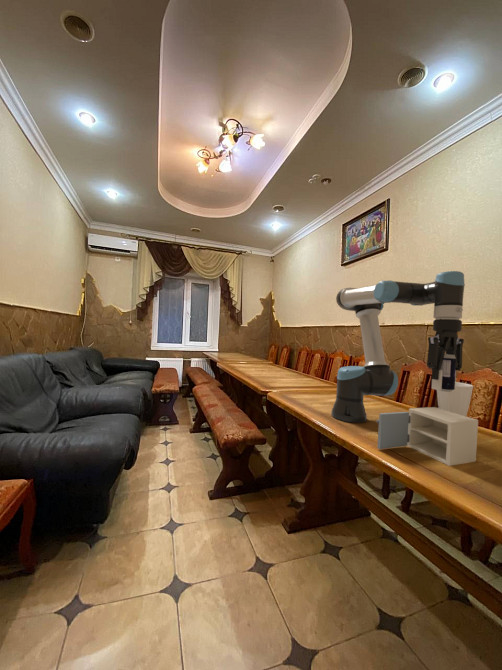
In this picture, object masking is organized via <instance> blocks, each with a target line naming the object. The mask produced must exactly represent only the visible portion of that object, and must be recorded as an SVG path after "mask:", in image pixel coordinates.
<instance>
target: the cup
mask: <svg viewBox="0 0 502 670" xmlns="http://www.w3.org/2000/svg"><path fill="white" fill-rule="evenodd" d="M473 389H474V385H472V384H471V383H465V382H459V381H456V383H455V390H452V391H451V392H445V391H439V390H436V398H437V406H438V407H437V408H438V409H442V410H445V411H449V412H452V413H456V414H459V415H462V416H466V417H468V416H467V415H468V411H469V409H470V408H469V407H470V404H471V400H472V394H473V391H474V390H473Z"/></svg>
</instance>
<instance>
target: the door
mask: <svg viewBox="0 0 502 670" xmlns="http://www.w3.org/2000/svg"><path fill="white" fill-rule="evenodd" d="M378 415H379V417H378V419H376V420H375V422H376V423H377V424H378V430H377V432H378V433H377V434H378V435H377V447H376V448H377V449H378V450H384V449H392V448H401V447H408V446H407V442H409V436H410V435H409V434H408V423H410V419H411V416H409V411H399V412H398V411H396V412H384V413H382V412H381V413H379V414H378Z"/></svg>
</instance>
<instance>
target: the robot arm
mask: <svg viewBox="0 0 502 670" xmlns="http://www.w3.org/2000/svg"><path fill="white" fill-rule="evenodd" d="M464 291H465V274H464V273H463V272H462V271H460V270H459V271H458V270H453V271H452V270H451V271H443V272H439V273H438V274H436V276H435V279H434V281H432V282H428V283H419V282H405V281H394V280H380V281H379V282H377V283H376V284H373V285H367V286H363V287H346V288H342V289H340V290H339V291H338V293H337V294H336V299H335V300H336V304H337V305H338V306H339V307H340V308H341V309H343V310H345V311H349V312H351V311H352V312H355V317H356V318H357V319H359V325H360V333H361V339H362V346H363V354H364V361H365V364H364V366H359V365H349V366H347V365H346V366H342V367H340V368H339V369H338V370H337V376H336V394H335V395H336V396H335V398H336V399H335V401H334V403H333V406H332V408H331V416H332V417H333V418H334V419H337V420H339V421H343V422H347V423H352V424H353V423H355V424H356V423H359V424H360V423H365V422H366V421H367V412H366V408H365V404H364V396H380V397H384V396H392V395H393V394H395V392H396V390H397V389H398V386H399V378H398V375H397V373H396V372H395V371H393V370H391V365H390V364H389V363H388V362H386V358H385V352H384V345H383V339H382V334H381V328H380V326H381V325H380V321H379V315H380V314H381V312H382V310H383V309H384V305H385V304H388V303H396V304H410V305H411V306H421V307H422V306H425V305H432V304H434V305H433V306H434V307H433V319H434V320H433V323H432V330H433V331H434V332H435V334H434V336H428V338H427V341H428V351H427V359H426V361H427V363H426V367H428V369H430V370H431V389H432V390H435V391H437V390H440V391H441V390H442V373H443V370H440V369H441V366H442V362H443V358H444V355H445V354H448V355H455V357H456V371H461V369H462V368H463V346H464V345H463V344H464V341H465V340H464V338H459V336H458V332H461V331H462V328H463V327H462V326H463V321H462V320H461V319H462V318H463V311H464V309H463V306H464V293H465V292H464ZM456 380H457V372H456V373H455V383H456V382H457V381H456ZM454 390H455V389H454Z"/></svg>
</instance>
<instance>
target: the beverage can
mask: <svg viewBox="0 0 502 670" xmlns="http://www.w3.org/2000/svg"><path fill="white" fill-rule="evenodd" d="M440 370H443V373H442V390H441V391H445V392H451V391H452V390H454V389H455V373H456V374H457V370H456V357H455V355H448V354H446V353H445V355H444V358H443V362H442V366H441V369H440ZM439 391H440V390H439Z"/></svg>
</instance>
